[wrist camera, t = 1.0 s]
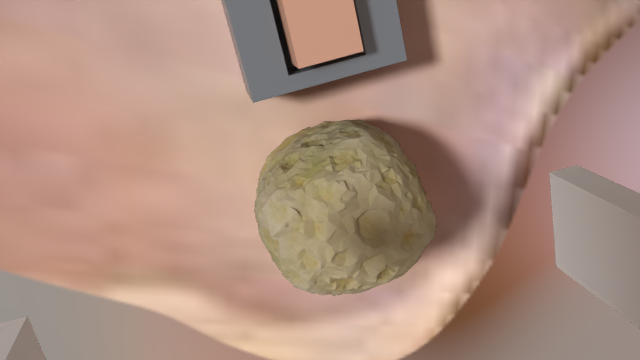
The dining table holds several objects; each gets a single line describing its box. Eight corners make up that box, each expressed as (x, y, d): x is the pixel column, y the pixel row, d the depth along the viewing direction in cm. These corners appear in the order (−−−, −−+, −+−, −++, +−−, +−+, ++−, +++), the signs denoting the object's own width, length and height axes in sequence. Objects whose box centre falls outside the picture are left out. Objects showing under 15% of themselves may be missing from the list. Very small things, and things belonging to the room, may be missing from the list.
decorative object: (394, 188, 39) (489, 142, 31) (343, 331, 35) (436, 325, 27) (273, 120, 37) (338, 48, 28) (204, 264, 33) (255, 233, 24)
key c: (275, -2, 28) (281, -2, 26) (338, -19, 29) (349, -19, 27) (291, 63, 29) (298, 68, 28) (352, 47, 30) (363, 51, 28)
